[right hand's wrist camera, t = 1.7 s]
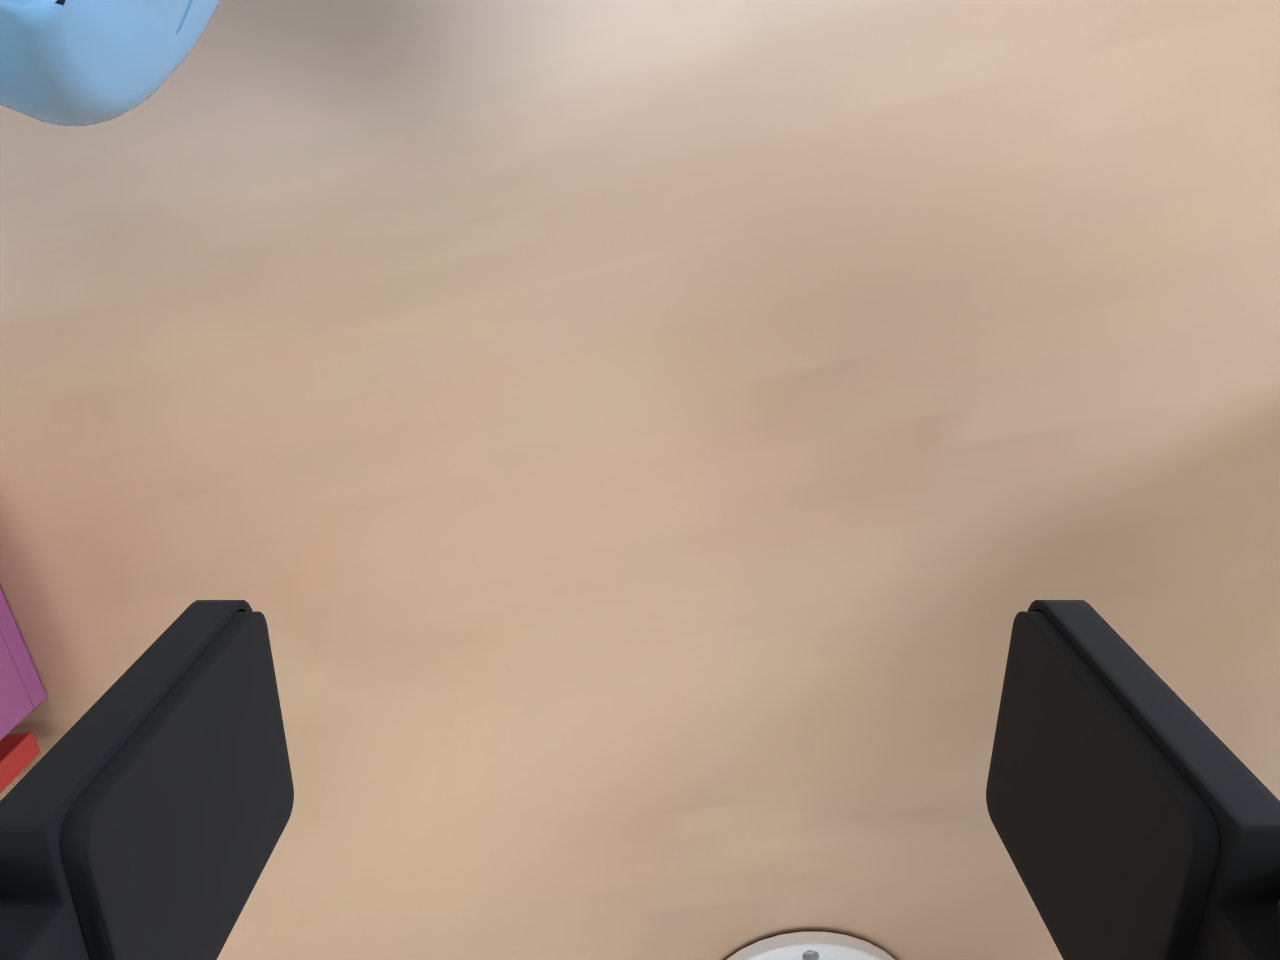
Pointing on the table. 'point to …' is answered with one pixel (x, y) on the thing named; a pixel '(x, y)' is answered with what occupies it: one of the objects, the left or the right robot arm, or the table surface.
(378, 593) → the table surface
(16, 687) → the cabinet
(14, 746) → the drawer
